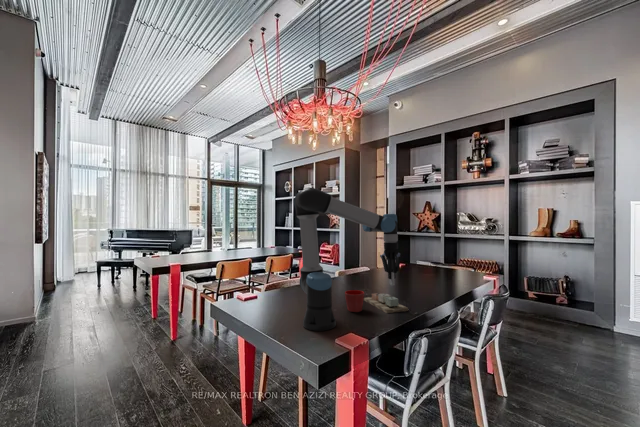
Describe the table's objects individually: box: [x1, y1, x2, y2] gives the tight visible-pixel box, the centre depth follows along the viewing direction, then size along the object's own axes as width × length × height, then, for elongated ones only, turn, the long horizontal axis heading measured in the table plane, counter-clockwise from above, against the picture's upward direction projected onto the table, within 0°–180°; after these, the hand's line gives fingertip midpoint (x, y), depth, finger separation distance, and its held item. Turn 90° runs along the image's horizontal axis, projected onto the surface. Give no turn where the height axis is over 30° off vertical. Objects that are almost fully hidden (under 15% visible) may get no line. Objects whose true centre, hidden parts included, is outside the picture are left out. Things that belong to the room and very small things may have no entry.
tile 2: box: [385, 296, 399, 306], centre depth 156 cm, size 5×5×4 cm
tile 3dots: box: [371, 292, 381, 301], centre depth 171 cm, size 5×5×4 cm
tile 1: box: [378, 293, 392, 303], centre depth 164 cm, size 5×5×4 cm
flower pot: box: [344, 289, 365, 313], centre depth 155 cm, size 11×11×10 cm
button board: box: [363, 296, 409, 314], centre depth 164 cm, size 27×13×2 cm, turn 17°
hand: (392, 284), depth 156 cm, fingers closed
